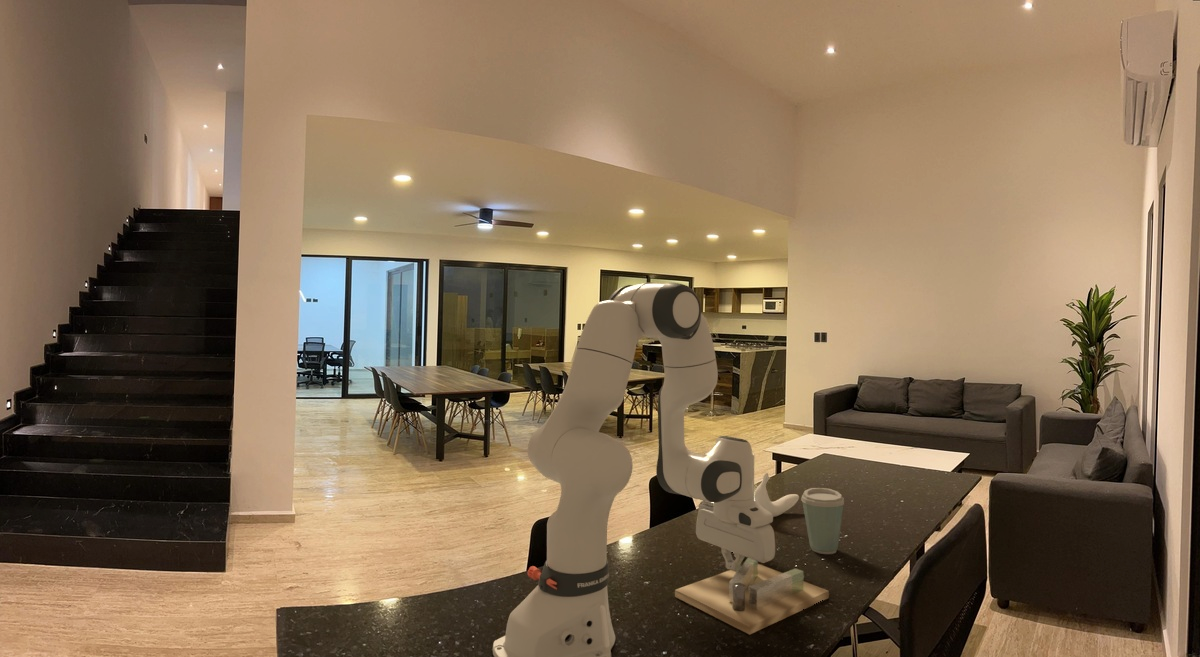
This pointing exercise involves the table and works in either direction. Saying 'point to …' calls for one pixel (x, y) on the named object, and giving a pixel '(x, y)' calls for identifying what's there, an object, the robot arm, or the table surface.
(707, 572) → the table surface
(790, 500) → the banana
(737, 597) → the bar
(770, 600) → the bar
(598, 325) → the robot arm
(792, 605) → the cutting board
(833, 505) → the disposable coffee cup
